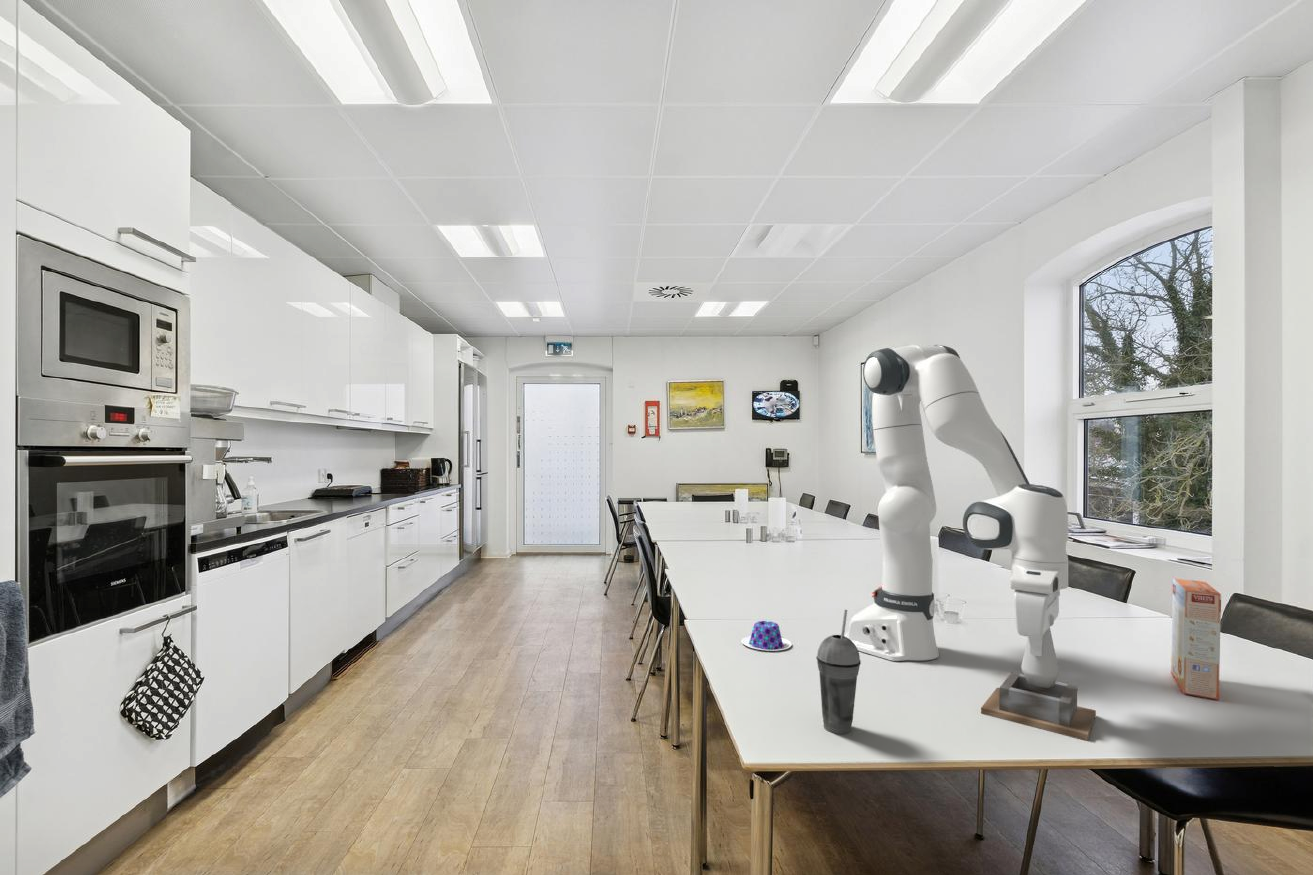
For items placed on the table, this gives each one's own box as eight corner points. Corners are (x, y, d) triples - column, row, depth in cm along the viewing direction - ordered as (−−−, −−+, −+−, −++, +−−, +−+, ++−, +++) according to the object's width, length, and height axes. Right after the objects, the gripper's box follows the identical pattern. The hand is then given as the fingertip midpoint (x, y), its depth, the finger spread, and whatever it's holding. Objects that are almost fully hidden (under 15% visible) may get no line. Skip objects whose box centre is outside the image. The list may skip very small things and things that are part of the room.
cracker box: (1221, 701, 122) (1222, 593, 122) (1181, 694, 125) (1182, 588, 125) (1206, 679, 134) (1207, 580, 134) (1170, 673, 137) (1171, 577, 137)
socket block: (981, 713, 114) (981, 685, 114) (997, 692, 124) (997, 666, 124) (1087, 740, 104) (1088, 710, 104) (1095, 715, 114) (1096, 688, 114)
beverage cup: (809, 719, 110) (811, 604, 111) (849, 718, 111) (851, 604, 111) (823, 738, 103) (825, 615, 103) (867, 737, 104) (868, 615, 104)
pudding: (740, 636, 159) (740, 615, 159) (788, 639, 157) (789, 618, 157) (741, 652, 147) (742, 629, 147) (794, 655, 145) (794, 632, 146)
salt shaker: (1049, 678, 117) (1049, 607, 117) (1065, 690, 111) (1065, 615, 111) (1015, 676, 117) (1015, 606, 117) (1030, 688, 111) (1030, 614, 112)
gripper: (1030, 564, 124) (1029, 635, 124) (1007, 580, 109) (1007, 661, 108) (1068, 569, 120) (1067, 641, 120) (1050, 586, 105) (1050, 670, 104)
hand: (1039, 651), depth 114 cm, fingers closed on salt shaker, 4 cm apart
